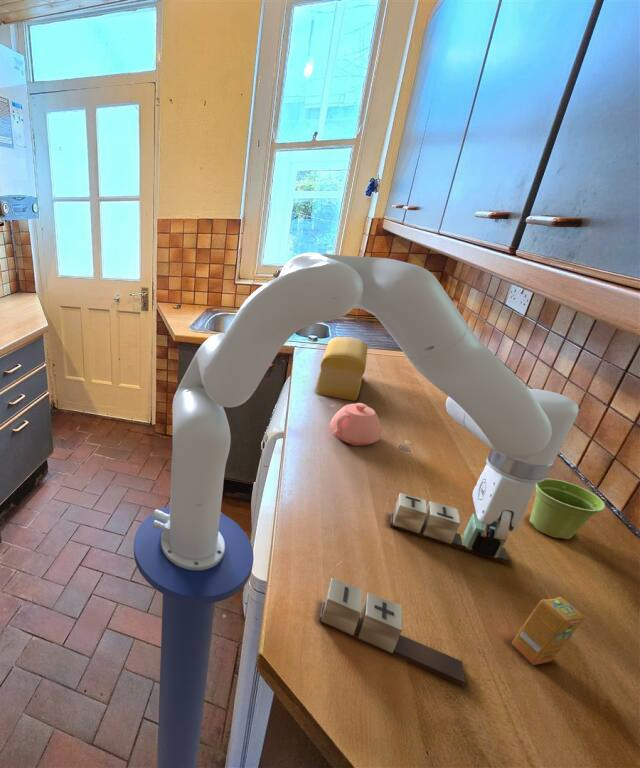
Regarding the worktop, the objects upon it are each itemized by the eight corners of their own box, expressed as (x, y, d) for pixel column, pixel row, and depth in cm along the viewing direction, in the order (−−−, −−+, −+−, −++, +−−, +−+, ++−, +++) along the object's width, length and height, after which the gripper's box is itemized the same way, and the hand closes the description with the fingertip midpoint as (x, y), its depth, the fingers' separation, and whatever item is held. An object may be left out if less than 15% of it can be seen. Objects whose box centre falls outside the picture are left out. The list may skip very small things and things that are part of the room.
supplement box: (534, 668, 57) (566, 620, 52) (510, 643, 60) (537, 597, 56) (554, 663, 57) (587, 616, 53) (529, 640, 60) (558, 593, 56)
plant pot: (527, 505, 86) (544, 472, 83) (589, 533, 79) (611, 497, 75) (511, 523, 82) (528, 489, 78) (576, 554, 74) (598, 518, 71)
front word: (318, 624, 63) (325, 597, 60) (322, 602, 66) (329, 576, 64) (463, 691, 54) (478, 662, 52) (459, 661, 57) (474, 633, 55)
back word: (389, 528, 81) (397, 504, 78) (390, 514, 84) (398, 491, 82) (507, 566, 72) (520, 541, 70) (502, 549, 76) (515, 524, 73)
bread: (323, 369, 156) (330, 332, 150) (360, 375, 150) (370, 337, 144) (314, 393, 137) (322, 351, 131) (357, 401, 131) (368, 358, 125)
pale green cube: (466, 548, 75) (476, 527, 73) (463, 533, 78) (472, 512, 76) (497, 558, 73) (507, 536, 70) (492, 542, 76) (503, 521, 74)
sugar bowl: (388, 443, 108) (399, 410, 104) (350, 455, 104) (359, 421, 99) (350, 422, 119) (357, 391, 115) (313, 432, 114) (320, 400, 110)
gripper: (481, 433, 76) (451, 509, 83) (498, 482, 63) (460, 567, 70) (535, 444, 72) (498, 522, 80) (564, 498, 59) (516, 586, 67)
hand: (480, 542), depth 75 cm, fingers closed on pale green cube, 4 cm apart
